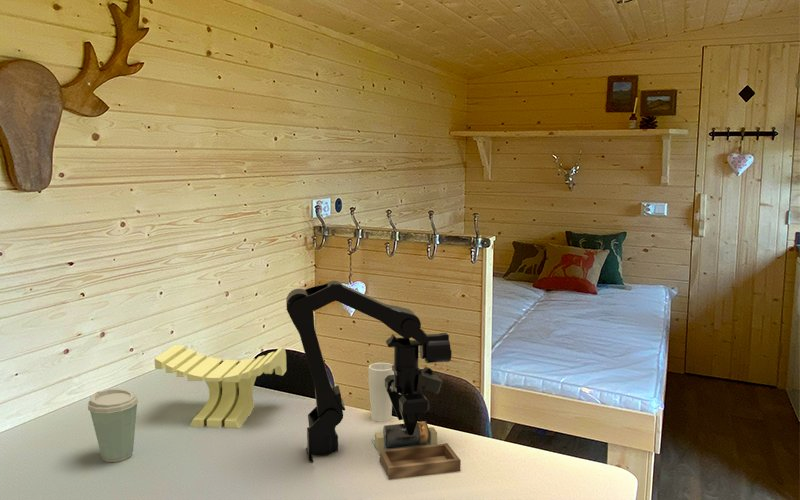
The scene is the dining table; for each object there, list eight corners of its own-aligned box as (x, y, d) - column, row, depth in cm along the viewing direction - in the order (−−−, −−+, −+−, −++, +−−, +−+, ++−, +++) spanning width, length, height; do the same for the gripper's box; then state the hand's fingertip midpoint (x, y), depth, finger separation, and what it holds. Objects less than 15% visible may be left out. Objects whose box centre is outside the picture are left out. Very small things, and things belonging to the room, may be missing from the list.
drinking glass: (391, 427, 169) (391, 371, 167) (365, 425, 170) (365, 369, 168) (396, 417, 175) (396, 363, 173) (372, 415, 177) (372, 361, 175)
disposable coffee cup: (151, 450, 154) (148, 389, 152) (117, 470, 144) (114, 405, 142) (115, 444, 158) (111, 384, 156) (80, 463, 148) (76, 399, 146)
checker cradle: (379, 460, 150) (379, 443, 150) (371, 443, 159) (371, 428, 158) (441, 453, 154) (441, 436, 153) (430, 437, 163) (430, 422, 162)
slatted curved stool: (287, 406, 183) (285, 344, 181) (271, 429, 167) (269, 361, 165) (182, 402, 185) (180, 341, 183) (157, 425, 170) (154, 358, 167)
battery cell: (388, 451, 153) (388, 430, 152) (383, 442, 158) (383, 422, 157) (429, 446, 155) (429, 426, 154) (423, 437, 160) (423, 417, 159)
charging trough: (389, 483, 139) (389, 468, 139) (379, 465, 148) (379, 450, 147) (460, 475, 143) (460, 460, 143) (447, 457, 152) (447, 443, 151)
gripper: (451, 373, 147) (450, 439, 149) (427, 350, 165) (426, 409, 167) (403, 377, 144) (403, 444, 146) (384, 353, 162) (384, 413, 164)
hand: (405, 427), depth 156 cm, fingers open, 9 cm apart
